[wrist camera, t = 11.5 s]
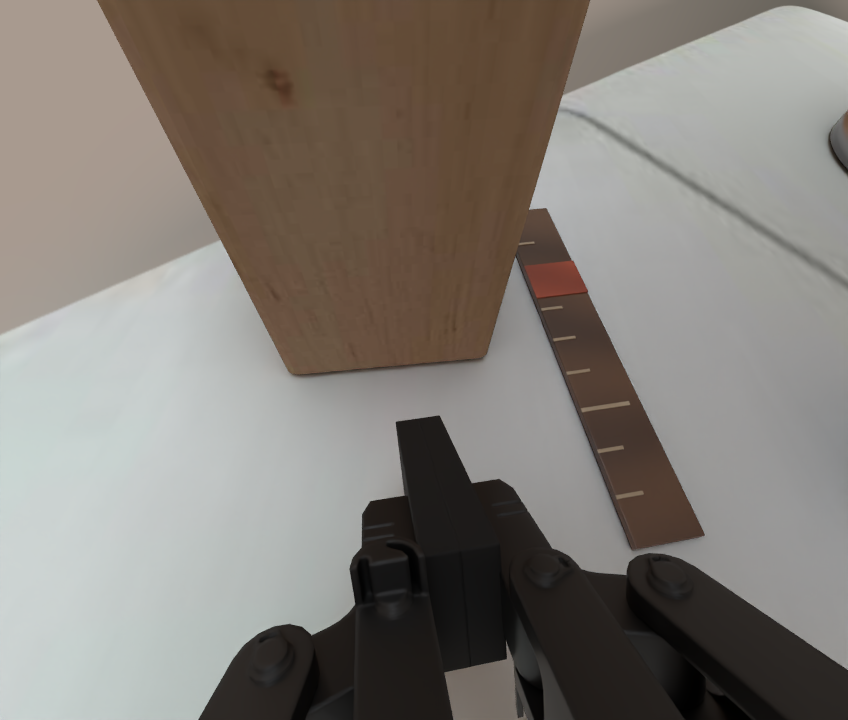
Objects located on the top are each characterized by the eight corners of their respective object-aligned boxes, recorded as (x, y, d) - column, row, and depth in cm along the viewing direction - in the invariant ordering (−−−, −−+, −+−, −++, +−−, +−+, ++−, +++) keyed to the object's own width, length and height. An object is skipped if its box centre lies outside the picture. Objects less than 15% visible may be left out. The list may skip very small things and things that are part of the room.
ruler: (700, 537, 17) (707, 535, 16) (631, 550, 17) (637, 548, 16) (544, 212, 27) (546, 206, 27) (500, 217, 27) (502, 211, 26)
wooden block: (287, 379, 20) (-412, -925, 3) (296, 236, 25) (54, -545, 8) (488, 361, 21) (827, -740, 4) (456, 226, 26) (542, -502, 9)
